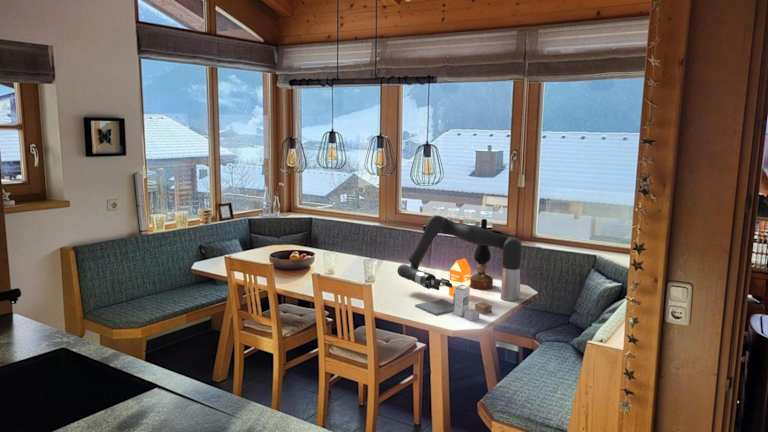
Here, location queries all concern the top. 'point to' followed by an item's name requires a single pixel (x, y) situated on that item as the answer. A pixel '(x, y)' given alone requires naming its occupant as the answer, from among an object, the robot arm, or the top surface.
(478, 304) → the walnut block
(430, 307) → the charcoal mat
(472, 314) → the grey plastic block
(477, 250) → the oil lamp
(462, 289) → the syrup box
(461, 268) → the orange juice
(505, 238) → the robot arm
